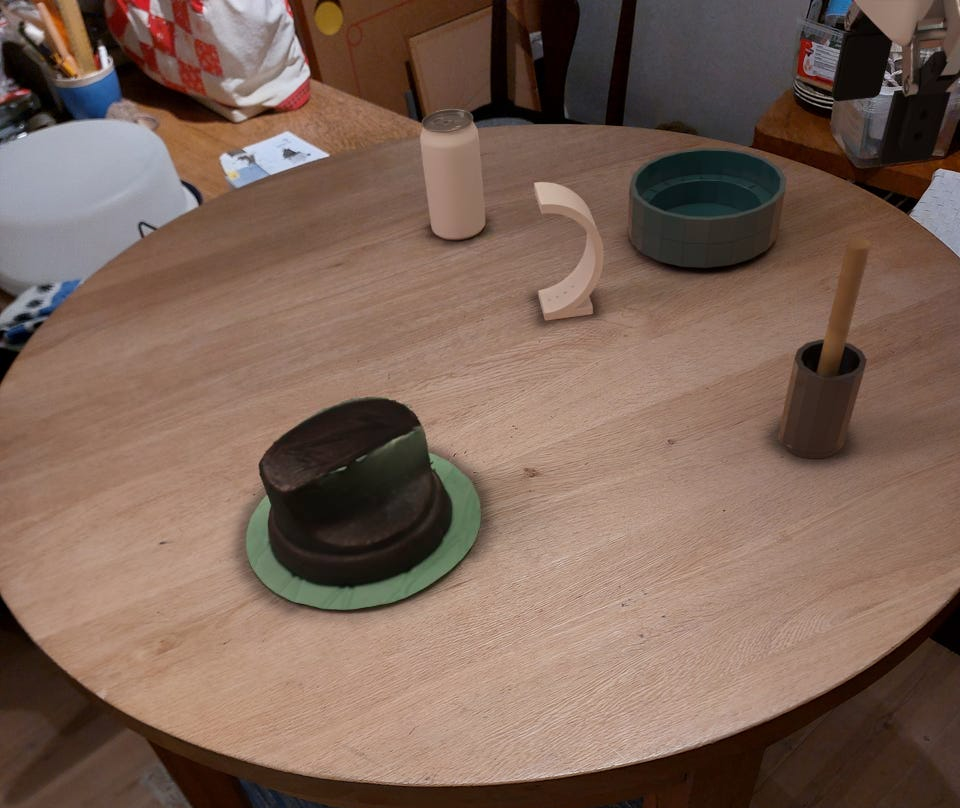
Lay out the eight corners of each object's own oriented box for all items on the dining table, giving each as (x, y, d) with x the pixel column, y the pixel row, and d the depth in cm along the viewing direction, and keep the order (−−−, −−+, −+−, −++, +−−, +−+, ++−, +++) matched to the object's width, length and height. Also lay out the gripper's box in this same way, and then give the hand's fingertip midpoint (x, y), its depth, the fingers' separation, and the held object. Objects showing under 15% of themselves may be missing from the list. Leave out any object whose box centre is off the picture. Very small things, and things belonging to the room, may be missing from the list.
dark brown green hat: (366, 405, 85) (536, 489, 76) (263, 574, 85) (422, 677, 76) (276, 318, 71) (470, 409, 63) (154, 519, 71) (331, 637, 63)
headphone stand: (538, 297, 96) (533, 182, 87) (594, 289, 96) (596, 173, 87) (544, 321, 93) (540, 204, 84) (602, 313, 93) (605, 196, 84)
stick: (823, 421, 78) (872, 230, 65) (833, 441, 77) (885, 250, 64) (791, 424, 79) (833, 235, 65) (800, 445, 77) (845, 254, 64)
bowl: (756, 194, 106) (764, 140, 101) (793, 265, 95) (804, 209, 91) (618, 210, 106) (619, 157, 101) (640, 282, 96) (643, 227, 91)
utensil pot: (832, 415, 80) (853, 335, 74) (852, 455, 76) (876, 375, 70) (771, 422, 80) (787, 342, 74) (787, 462, 76) (806, 382, 70)
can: (468, 246, 104) (457, 136, 95) (421, 236, 106) (406, 128, 97) (495, 220, 107) (487, 111, 98) (449, 211, 110) (437, 104, 100)
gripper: (1127, -211, 40) (989, 181, 53) (974, -265, 51) (891, 71, 64) (957, -191, 40) (861, 194, 54) (841, -250, 51) (785, 83, 65)
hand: (877, 127), depth 59 cm, fingers open, 9 cm apart
